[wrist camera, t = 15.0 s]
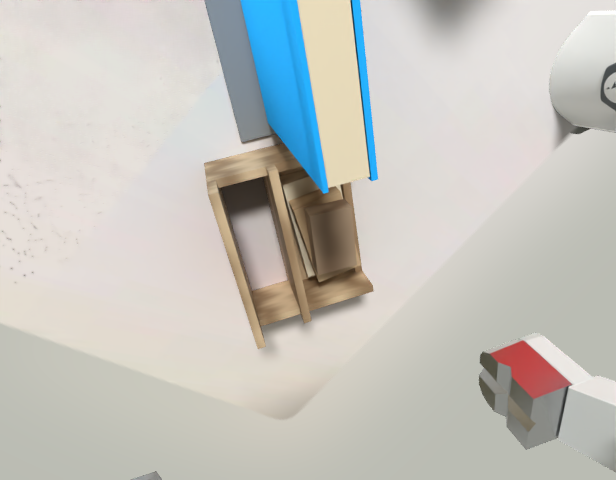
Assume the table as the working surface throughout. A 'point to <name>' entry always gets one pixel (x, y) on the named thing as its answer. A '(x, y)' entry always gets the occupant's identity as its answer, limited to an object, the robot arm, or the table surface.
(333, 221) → the offcut small
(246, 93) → the mat
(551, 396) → the robot arm
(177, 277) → the table surface
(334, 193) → the offcut medium
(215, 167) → the rack
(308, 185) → the offcut large
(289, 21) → the book
